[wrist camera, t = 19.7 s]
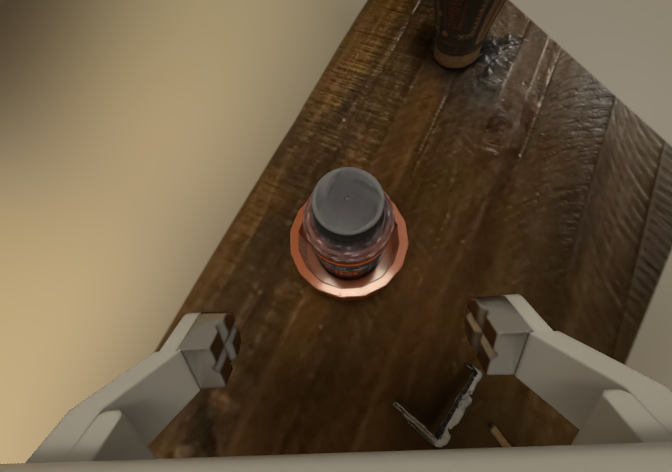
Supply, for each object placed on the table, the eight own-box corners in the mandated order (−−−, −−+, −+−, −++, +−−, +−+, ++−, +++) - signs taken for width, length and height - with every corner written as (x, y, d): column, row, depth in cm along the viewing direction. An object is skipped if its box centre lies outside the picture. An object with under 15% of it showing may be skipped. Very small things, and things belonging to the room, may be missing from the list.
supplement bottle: (312, 277, 25) (280, 245, 14) (322, 216, 27) (300, 145, 16) (379, 286, 24) (398, 259, 13) (385, 222, 26) (406, 154, 15)
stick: (572, 518, 19) (565, 524, 19) (566, 511, 20) (559, 517, 20) (495, 425, 21) (488, 431, 21) (491, 421, 21) (485, 427, 21)
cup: (426, 13, 34) (453, -107, 24) (497, 36, 32) (558, -84, 23) (394, 64, 32) (411, -45, 22) (469, 91, 30) (522, -15, 21)
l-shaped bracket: (385, 374, 23) (399, 446, 21) (386, 375, 22) (401, 453, 20) (473, 360, 23) (495, 433, 21) (479, 361, 21) (504, 438, 19)
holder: (392, 202, 27) (399, 179, 23) (404, 297, 24) (415, 293, 20) (300, 209, 27) (289, 188, 23) (301, 304, 25) (290, 300, 20)
